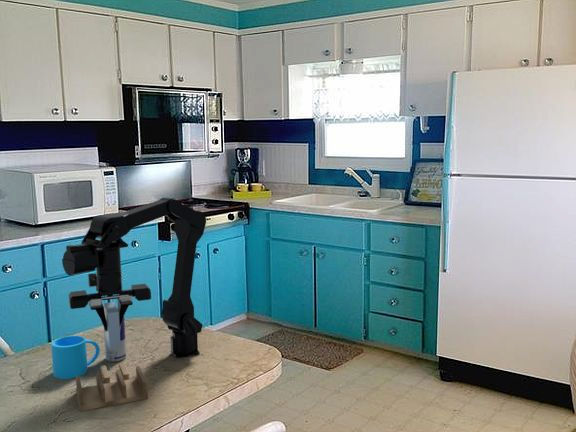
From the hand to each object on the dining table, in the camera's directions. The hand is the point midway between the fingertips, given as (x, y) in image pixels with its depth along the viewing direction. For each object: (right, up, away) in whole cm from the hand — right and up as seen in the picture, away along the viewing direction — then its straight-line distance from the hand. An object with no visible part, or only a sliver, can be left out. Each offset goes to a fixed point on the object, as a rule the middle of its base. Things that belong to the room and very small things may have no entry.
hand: (112, 329), depth 145 cm
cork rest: (0, -12, +2) cm, 12 cm away
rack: (+2, -14, -8) cm, 16 cm away
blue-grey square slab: (0, -3, +1) cm, 3 cm away
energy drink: (-3, -11, +15) cm, 18 cm away
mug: (-11, -12, +7) cm, 18 cm away
